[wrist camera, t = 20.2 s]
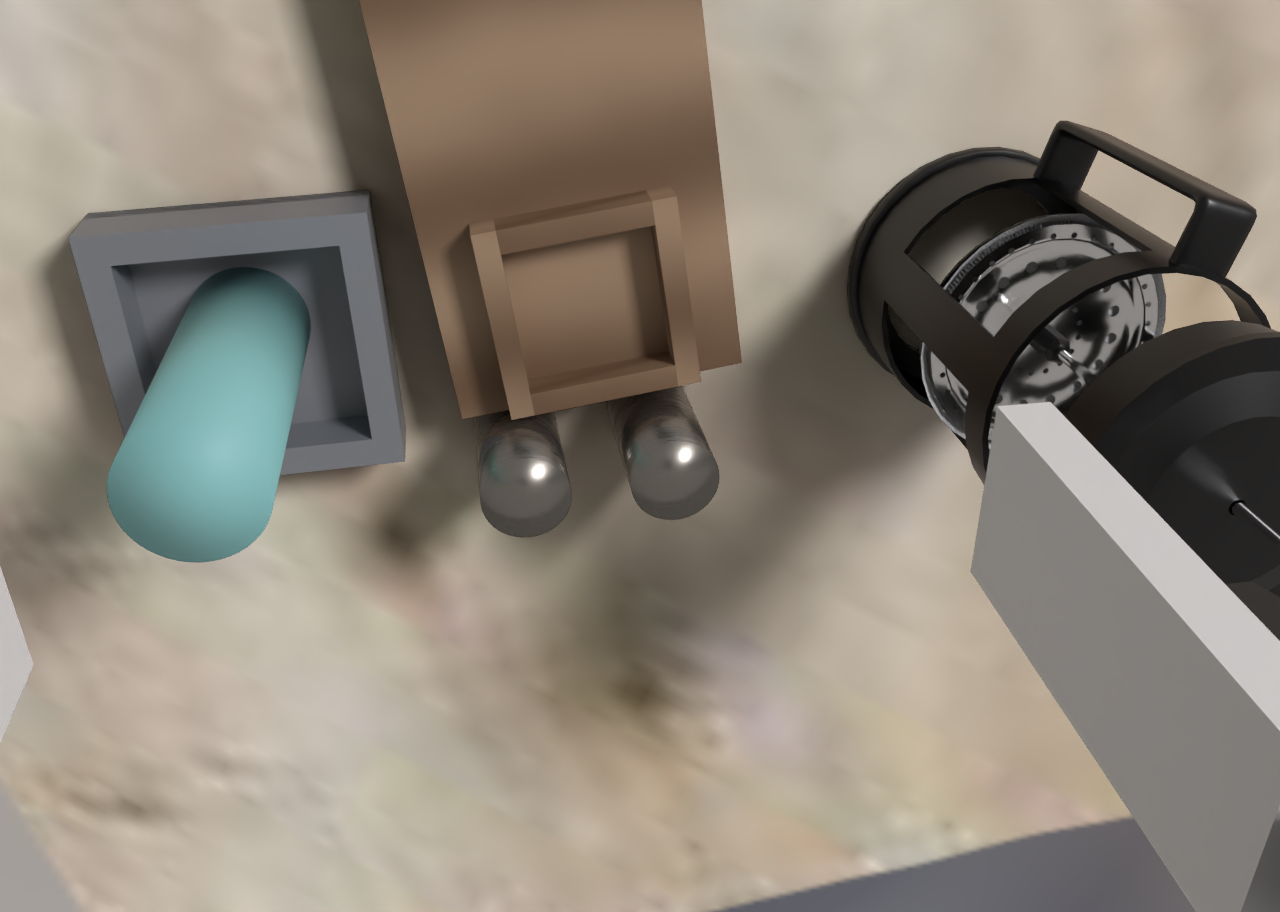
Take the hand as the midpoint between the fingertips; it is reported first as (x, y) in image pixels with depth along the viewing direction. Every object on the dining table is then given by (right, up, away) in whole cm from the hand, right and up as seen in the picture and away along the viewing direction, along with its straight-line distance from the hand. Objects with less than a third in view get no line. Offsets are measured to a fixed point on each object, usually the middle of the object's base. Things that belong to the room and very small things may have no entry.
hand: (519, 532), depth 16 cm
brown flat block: (-1, +12, +25) cm, 27 cm away
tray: (-12, +5, +26) cm, 29 cm away
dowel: (-12, +6, +25) cm, 28 cm away
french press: (+14, +8, +29) cm, 33 cm away
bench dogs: (-1, +3, +29) cm, 29 cm away
